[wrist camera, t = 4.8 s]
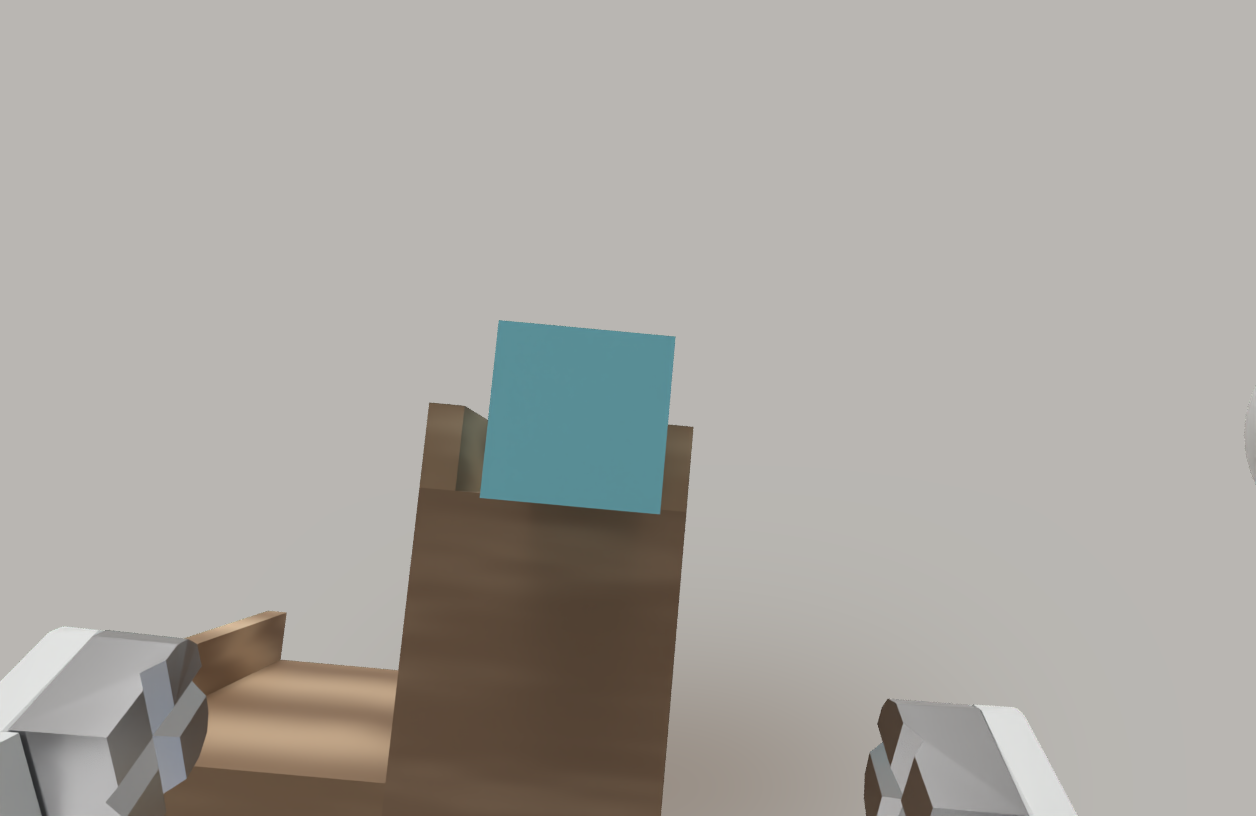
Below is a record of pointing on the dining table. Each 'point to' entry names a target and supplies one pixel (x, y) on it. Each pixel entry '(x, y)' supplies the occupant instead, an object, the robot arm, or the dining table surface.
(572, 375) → the bar
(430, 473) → the stepped wooden block
